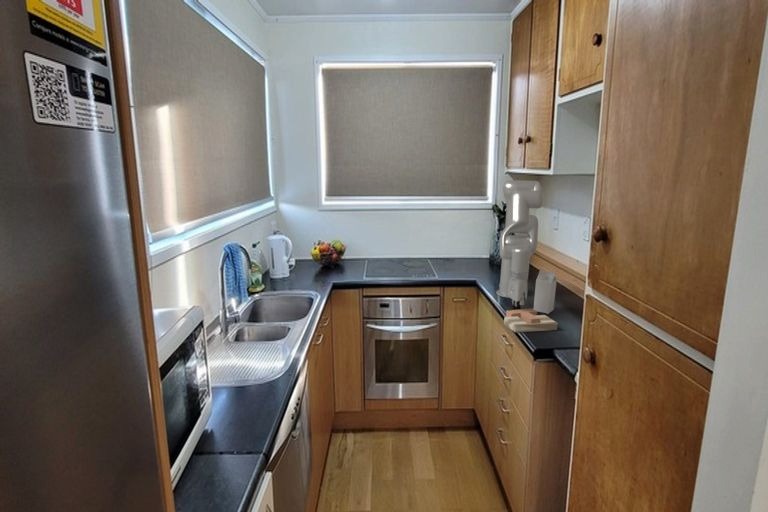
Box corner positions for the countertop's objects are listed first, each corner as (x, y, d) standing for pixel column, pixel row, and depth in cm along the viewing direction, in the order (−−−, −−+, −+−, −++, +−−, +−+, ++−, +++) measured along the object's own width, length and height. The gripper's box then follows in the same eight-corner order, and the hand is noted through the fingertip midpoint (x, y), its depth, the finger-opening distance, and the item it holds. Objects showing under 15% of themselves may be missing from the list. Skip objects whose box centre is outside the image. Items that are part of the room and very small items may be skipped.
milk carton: (538, 307, 211) (542, 269, 207) (553, 310, 207) (557, 271, 203) (533, 310, 206) (536, 271, 202) (548, 314, 201) (552, 274, 197)
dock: (504, 323, 189) (504, 317, 188) (544, 321, 192) (544, 314, 191) (514, 332, 179) (515, 325, 178) (557, 329, 182) (557, 323, 182)
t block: (505, 319, 194) (506, 310, 193) (530, 316, 198) (531, 308, 197) (521, 329, 183) (522, 320, 182) (547, 326, 186) (548, 317, 186)
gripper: (504, 271, 200) (501, 308, 204) (519, 279, 186) (516, 320, 190) (519, 270, 201) (515, 308, 205) (535, 279, 187) (531, 319, 191)
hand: (516, 313), depth 198 cm, fingers closed
